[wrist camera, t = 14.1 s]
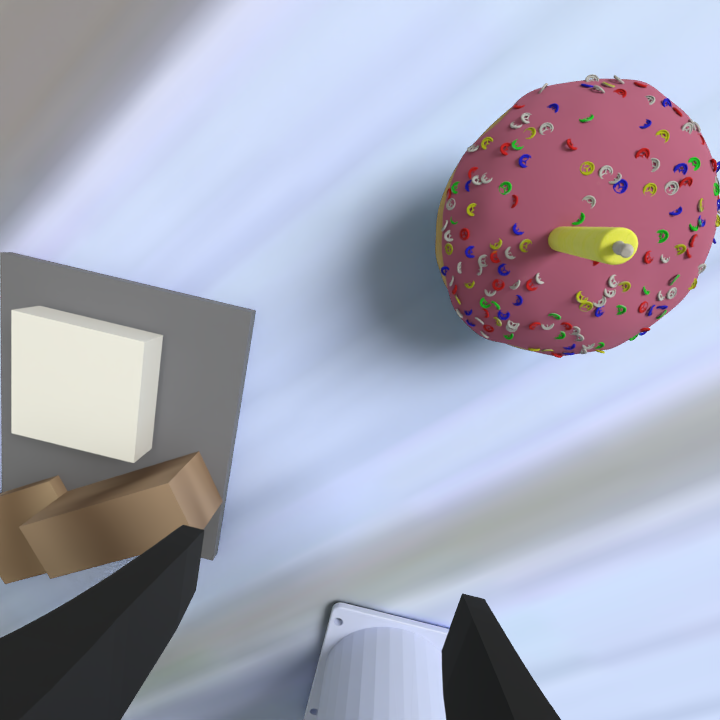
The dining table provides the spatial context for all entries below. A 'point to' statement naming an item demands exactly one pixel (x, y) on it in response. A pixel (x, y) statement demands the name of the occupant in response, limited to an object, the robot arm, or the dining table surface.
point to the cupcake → (578, 217)
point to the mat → (175, 386)
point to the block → (83, 382)
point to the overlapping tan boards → (101, 517)
